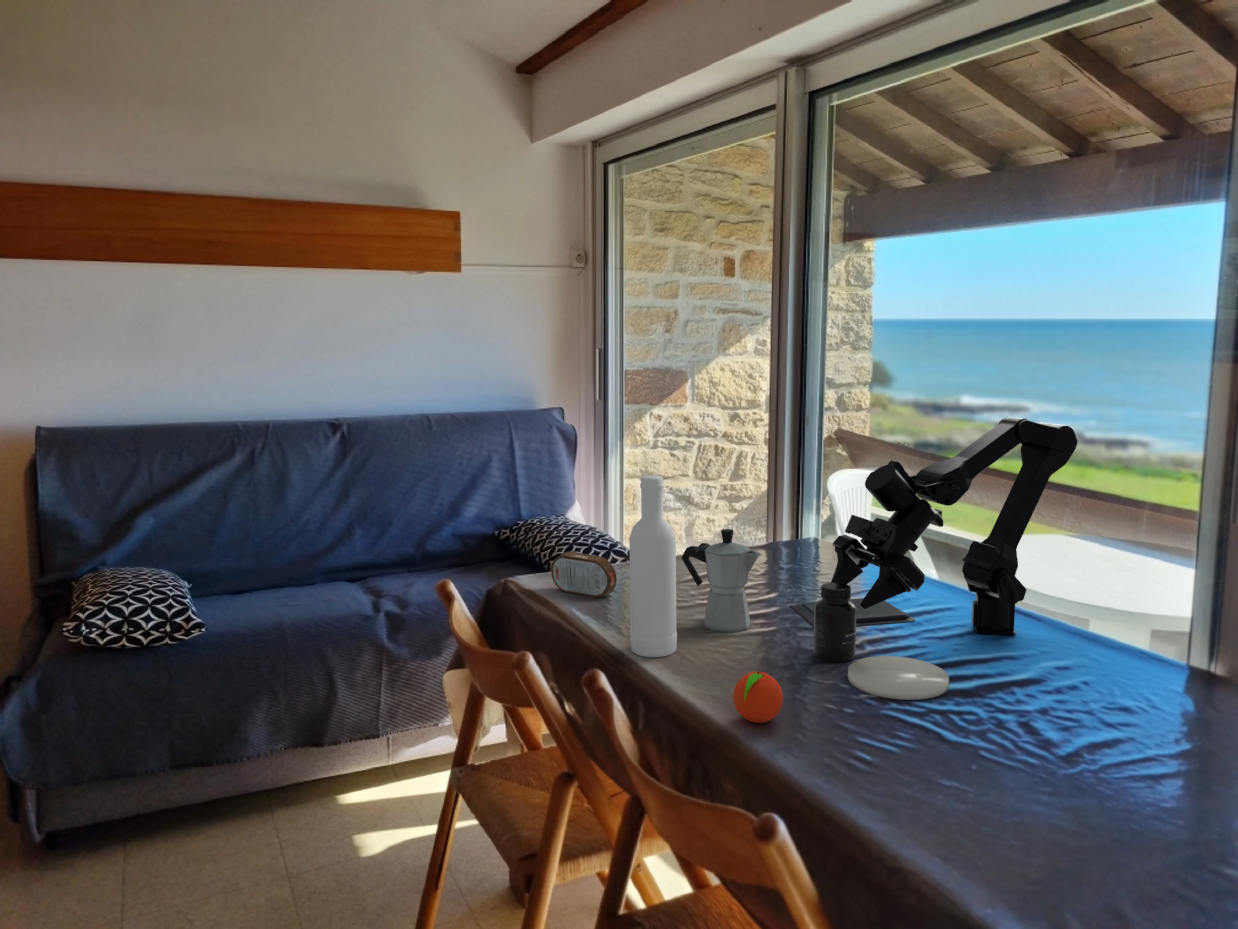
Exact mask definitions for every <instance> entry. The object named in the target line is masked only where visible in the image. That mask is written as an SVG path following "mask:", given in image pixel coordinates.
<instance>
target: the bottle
mask: <svg viewBox="0 0 1238 929" xmlns="http://www.w3.org/2000/svg"><path fill="white" fill-rule="evenodd" d="M663 479H664V478H663V477H662V476H661V475H653V474H651V475H644V476H642V477H640V484H639V485H640V486H639V488H640V493H641V494H640V496H641V497H640V498H641V499H640V500H641V505H640V506H641V507H640V508H641V509H640V511H641V518H640V519H639V520H638V521H637V522H636V523H635V524H634V525H633V527H632V529H631V533H630V536H629V593H630V594H629V595H630V598H629V600H630V601H629V603H630V606H629V607H630V632H629V636H630V637H629V639H630V649H631V652H632V653H633V654H635V655H637V656H640V657H644V658H645V657H646V658H662V657H666V656H671V655H672V654H674V653H675V652H676V651H677V642H678V632H677V546H676V544H677V540H676V534H675V531H674V529H673V526H672V525H671V524H670V523H669V522H668V521H667V520H666V519H665V517H664V486H665V485H664V482H663V481H664V480H663Z"/></svg>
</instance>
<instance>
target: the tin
mask: <svg viewBox="0 0 1238 929" xmlns="http://www.w3.org/2000/svg"><path fill="white" fill-rule="evenodd" d="M550 568H551V569H550V571H551V578H552V581H553V583H554V585H555V586H557V588H558V589H559V590H561V591H563V592H565V593H568V594H574V595H579V596H583V597H591V598H595V599H597V598H598V599H600V598H602V597H605V596H606V595H609V594H611V593H612V592H613V591H614V590H615V588H616V585H617V581H618V580H617V578H618V577H617V573H616V570H615V567H614V566H613V565H612V563H611V562H610V561H609V560H608V559H606V558H605V557H603V556H599V555H594V554H593V555H592V554H587V553H580V552H576V551H575V552H574V551H565V552H563V553H562V554H560V555H558V556H557V557H555V558H554V560H553V561H552V562H551V567H550Z"/></svg>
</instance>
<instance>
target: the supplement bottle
mask: <svg viewBox="0 0 1238 929" xmlns="http://www.w3.org/2000/svg"><path fill="white" fill-rule="evenodd" d="M820 588H821V589H820V590H821V591H820V597H821V599H819V600H818V601H816V602H817V603H816V605H815V611H814V627H813V654H814V656H815V657H816V658H818V659H820V660H822V661H826V662H831V663H832V662H833V663H835V662H836V663H844V662H849V661H851V660H853V659H854V658H855V655H856V642H857V641H856V640H857V627H856V613H857V612H856V606H855V605H854V603H852V602H851V601H850V600H852V587H851V585H849V584H847V585H846V584H842V583H831V582H827V583H823V584H821V587H820Z"/></svg>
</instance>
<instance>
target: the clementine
mask: <svg viewBox="0 0 1238 929" xmlns="http://www.w3.org/2000/svg"><path fill="white" fill-rule="evenodd" d="M734 686H735V687H734V689H733V694H732V695H733V696H732V698H733V705H734V707H735V708H736V711H737V712H738V713H739V716H741V717H742V718H744V719H745V720H747V721H748V722H752V723H759V724H760V723H763V724H764V723H767V722H769V721H772V719H774V718H776V716H777V715H778V714H779V713H780V711H781V708H782V707H783V701H784V695H783V690H782V687H781V685H780V683H779V682H778V681H777V680H776V678H774V677H773V676H772V675H770V674H769V673H766V672H762V671H752V672H748V673H747V674H745V675H744V676H742V677H741V678H740V679H739V680H738V681H737V682H736V684H735V685H734Z"/></svg>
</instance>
